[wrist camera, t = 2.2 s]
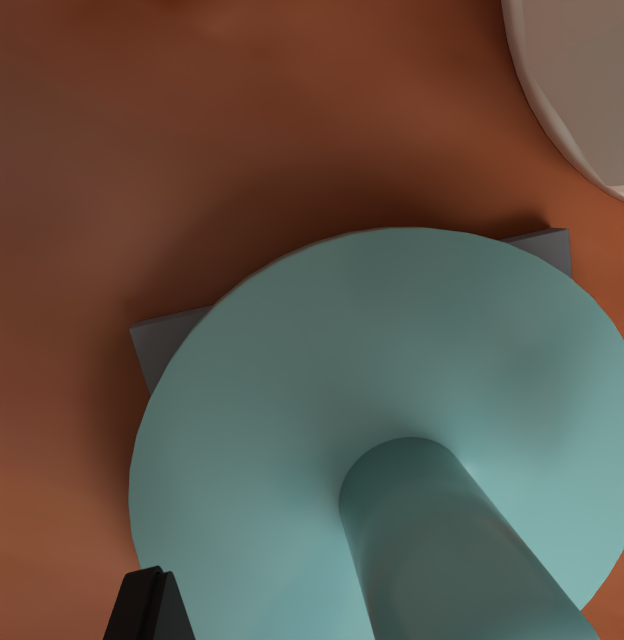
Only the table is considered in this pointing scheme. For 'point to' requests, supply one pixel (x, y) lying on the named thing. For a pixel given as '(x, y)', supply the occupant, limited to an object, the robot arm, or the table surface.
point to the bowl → (574, 79)
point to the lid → (388, 447)
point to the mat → (169, 331)
